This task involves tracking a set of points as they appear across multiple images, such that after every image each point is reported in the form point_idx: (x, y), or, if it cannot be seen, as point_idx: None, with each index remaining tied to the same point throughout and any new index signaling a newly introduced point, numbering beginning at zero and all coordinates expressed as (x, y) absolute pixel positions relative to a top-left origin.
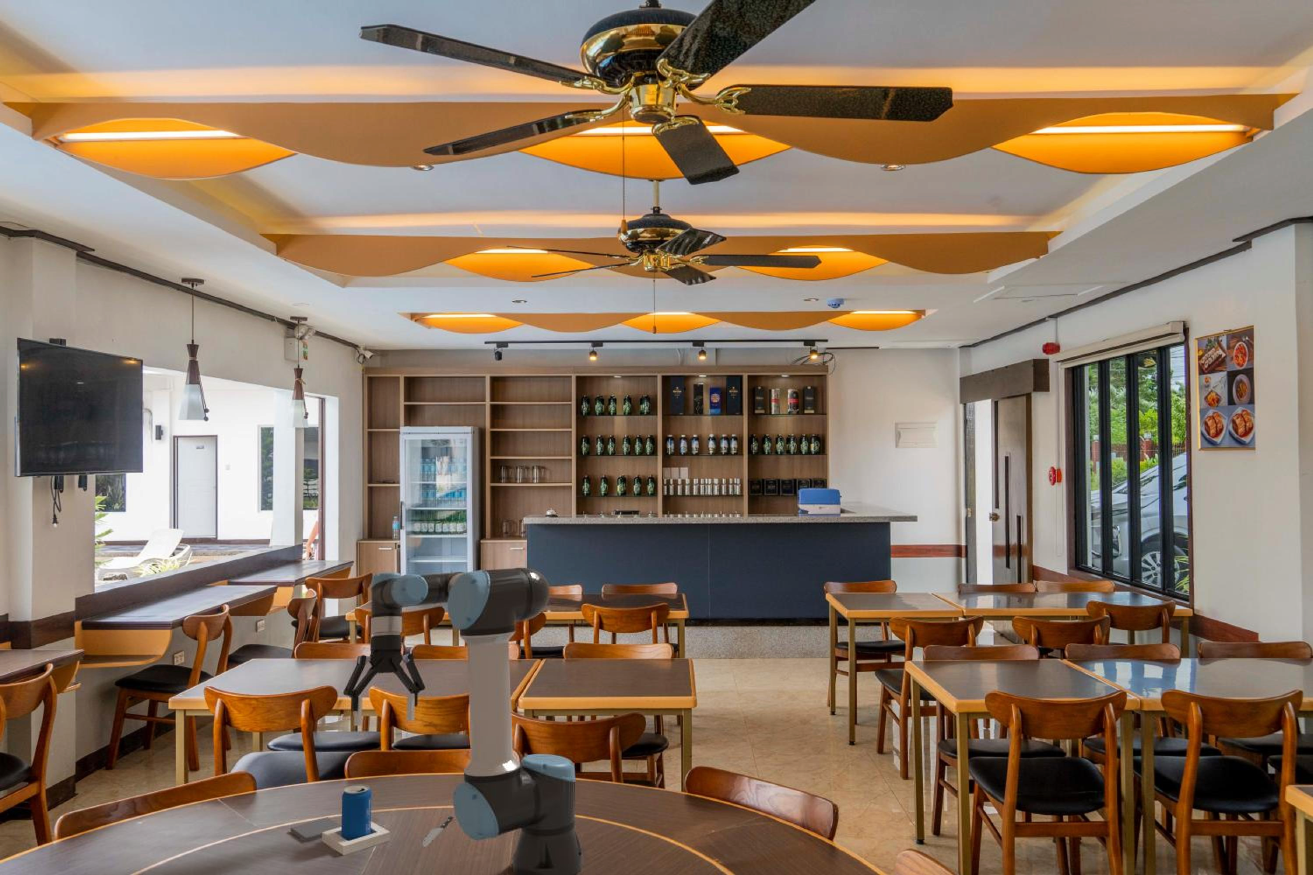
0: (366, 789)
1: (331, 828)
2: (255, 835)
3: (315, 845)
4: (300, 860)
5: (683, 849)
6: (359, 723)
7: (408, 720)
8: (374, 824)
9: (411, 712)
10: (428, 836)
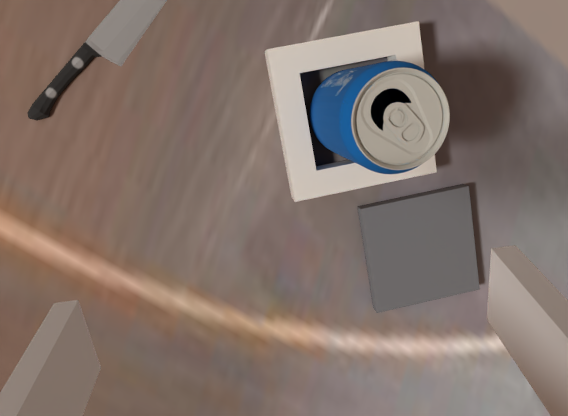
0: (366, 100)
1: (392, 218)
2: None
3: (449, 146)
4: (511, 63)
5: None
6: (515, 252)
7: (92, 346)
8: (289, 144)
9: (57, 346)
10: (148, 8)
